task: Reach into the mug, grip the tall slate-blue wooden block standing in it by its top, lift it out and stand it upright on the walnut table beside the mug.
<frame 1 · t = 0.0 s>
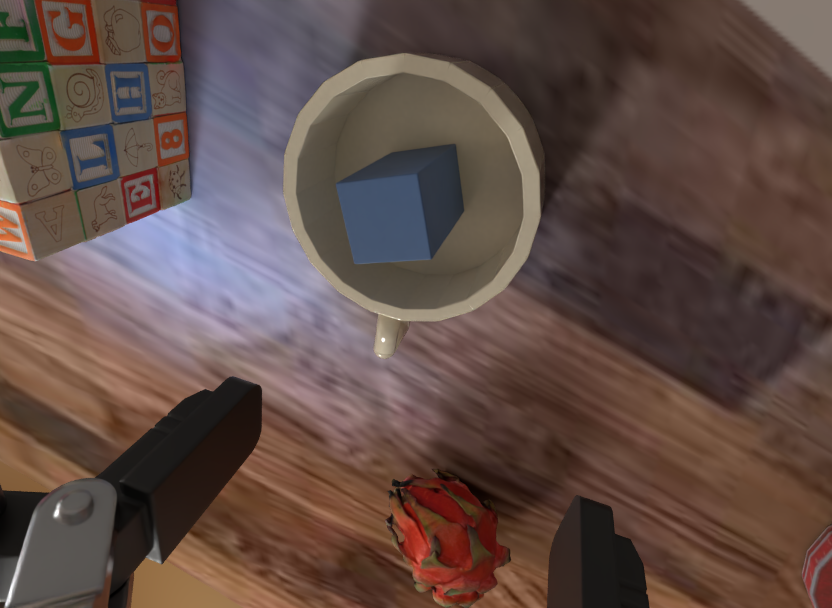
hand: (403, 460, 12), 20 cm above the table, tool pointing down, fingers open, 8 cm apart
block: (427, 182, 29), resting on mug
mug: (430, 180, 29), on the table
dragon fruit: (453, 495, 41), on the table
stack of blocks: (141, 25, 30), on the table
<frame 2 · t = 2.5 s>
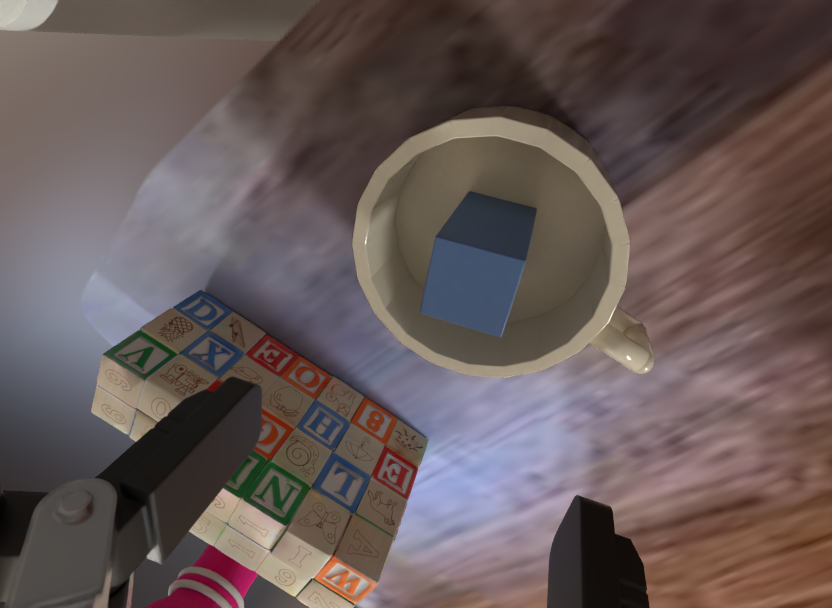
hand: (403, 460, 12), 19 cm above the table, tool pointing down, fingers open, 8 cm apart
block: (493, 231, 28), resting on mug
mug: (495, 229, 29), on the table
pepper mill: (299, 459, 43), on the table
stack of blocks: (304, 387, 39), on the table
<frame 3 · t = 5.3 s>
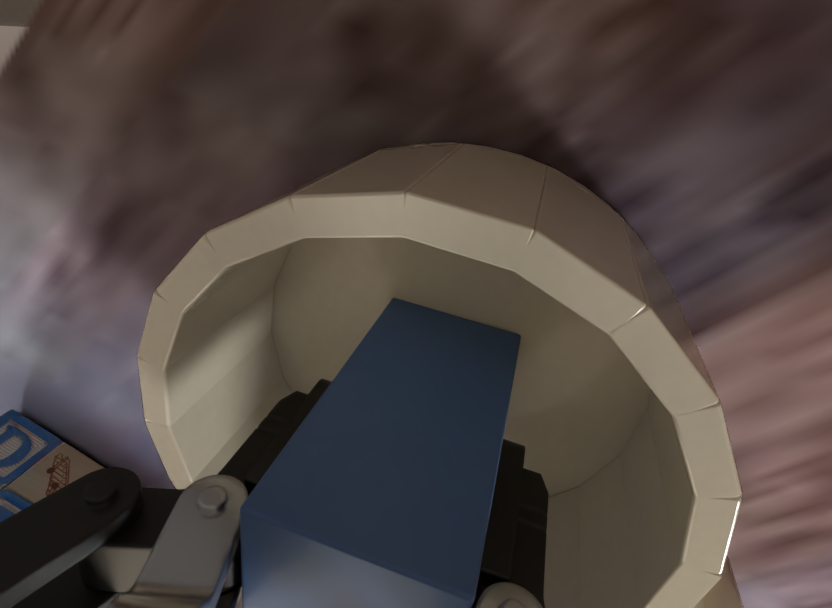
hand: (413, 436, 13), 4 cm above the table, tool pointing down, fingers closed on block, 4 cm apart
block: (442, 367, 15), point 1 cm above the table, touching gripper, mug
mug: (446, 358, 16), on the table
stack of blocks: (182, 543, 26), on the table
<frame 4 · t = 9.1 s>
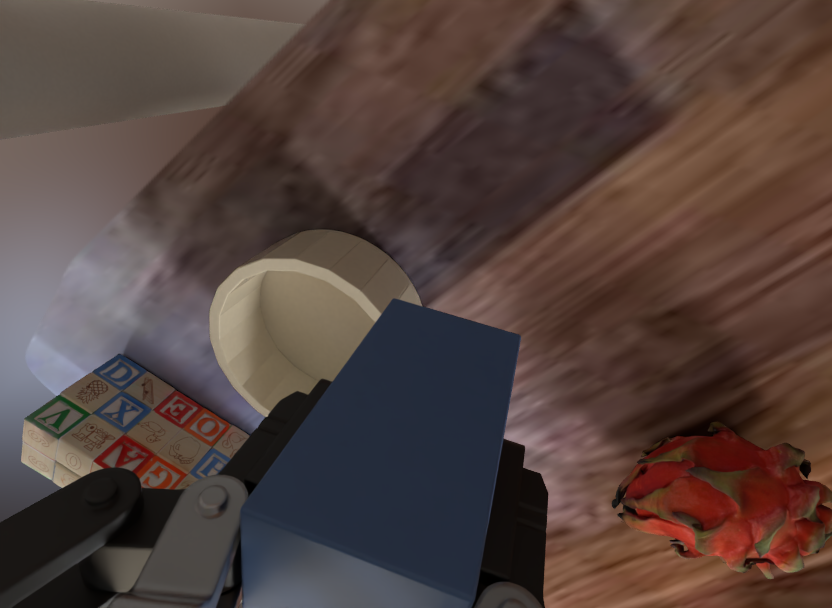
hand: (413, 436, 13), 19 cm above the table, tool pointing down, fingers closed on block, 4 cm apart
block: (443, 367, 15), point 16 cm above the table, touching gripper
mug: (337, 317, 36), on the table
dragon fruit: (699, 454, 33), on the table
stack of blocks: (211, 432, 46), on the table
when the fingers open (3 cm above the table, at t = 13.0 s): block stays where it is, on the table.
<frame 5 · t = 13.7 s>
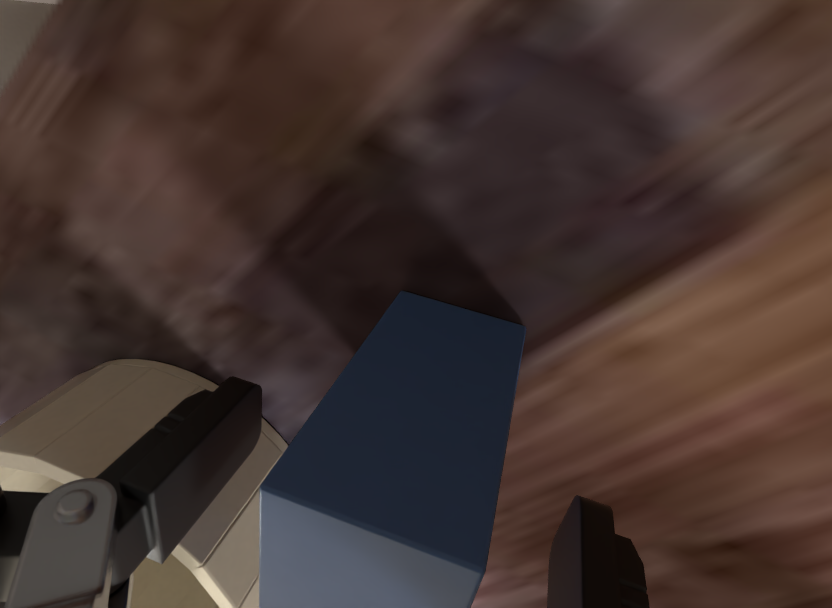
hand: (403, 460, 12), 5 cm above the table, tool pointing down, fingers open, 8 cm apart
block: (449, 359, 16), on the table
mug: (190, 479, 23), on the table
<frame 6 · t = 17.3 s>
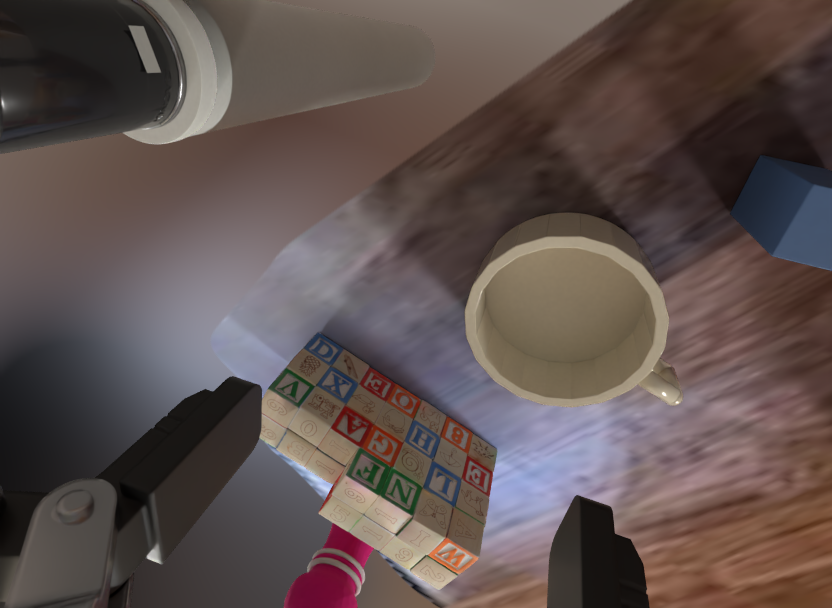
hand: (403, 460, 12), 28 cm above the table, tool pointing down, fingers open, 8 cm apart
block: (776, 192, 31), on the table
mug: (561, 295, 39), on the table
pepper mill: (385, 465, 53), on the table
stack of blocks: (395, 407, 49), on the table
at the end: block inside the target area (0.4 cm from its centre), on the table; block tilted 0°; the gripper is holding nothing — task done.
